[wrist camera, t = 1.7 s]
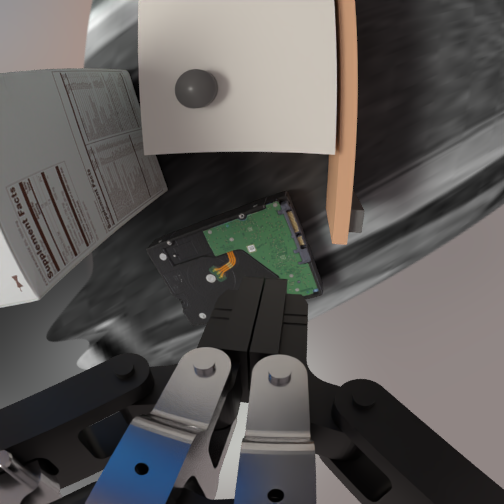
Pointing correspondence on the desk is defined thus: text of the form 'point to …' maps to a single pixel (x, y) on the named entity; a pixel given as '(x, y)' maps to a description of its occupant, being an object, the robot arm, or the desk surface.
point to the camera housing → (237, 76)
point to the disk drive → (236, 255)
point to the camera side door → (344, 130)
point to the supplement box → (66, 172)
